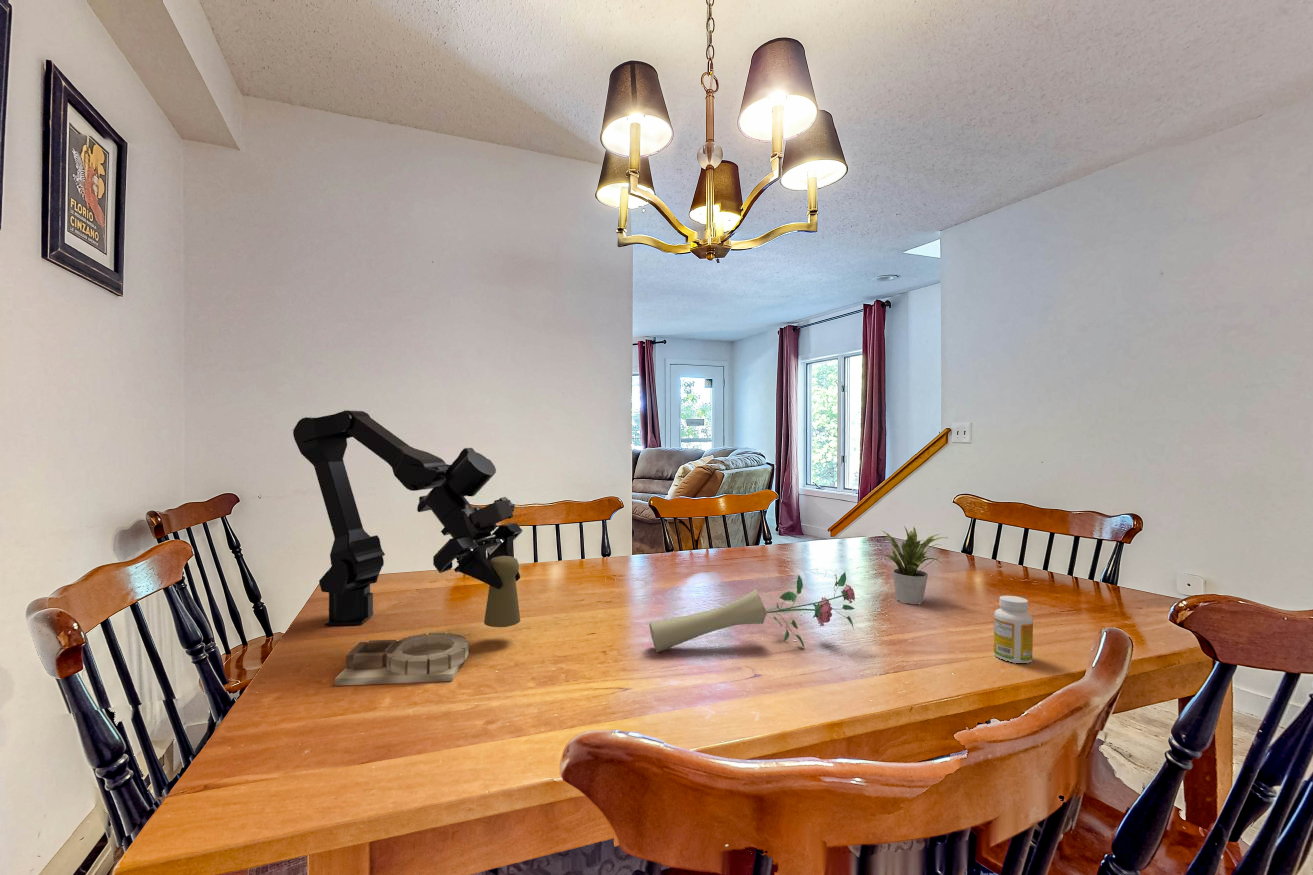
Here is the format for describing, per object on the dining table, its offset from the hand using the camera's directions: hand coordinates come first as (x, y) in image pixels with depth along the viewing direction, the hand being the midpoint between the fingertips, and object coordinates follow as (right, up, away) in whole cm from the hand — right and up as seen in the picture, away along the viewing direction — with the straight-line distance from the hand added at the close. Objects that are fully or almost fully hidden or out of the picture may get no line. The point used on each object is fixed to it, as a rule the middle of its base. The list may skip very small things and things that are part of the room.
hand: (510, 583), depth 99 cm
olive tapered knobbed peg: (-2, -7, +1) cm, 7 cm away
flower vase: (+41, -11, 0) cm, 42 cm away
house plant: (+80, -11, +26) cm, 85 cm away
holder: (-13, -10, -10) cm, 19 cm away
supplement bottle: (+83, -11, -4) cm, 84 cm away
